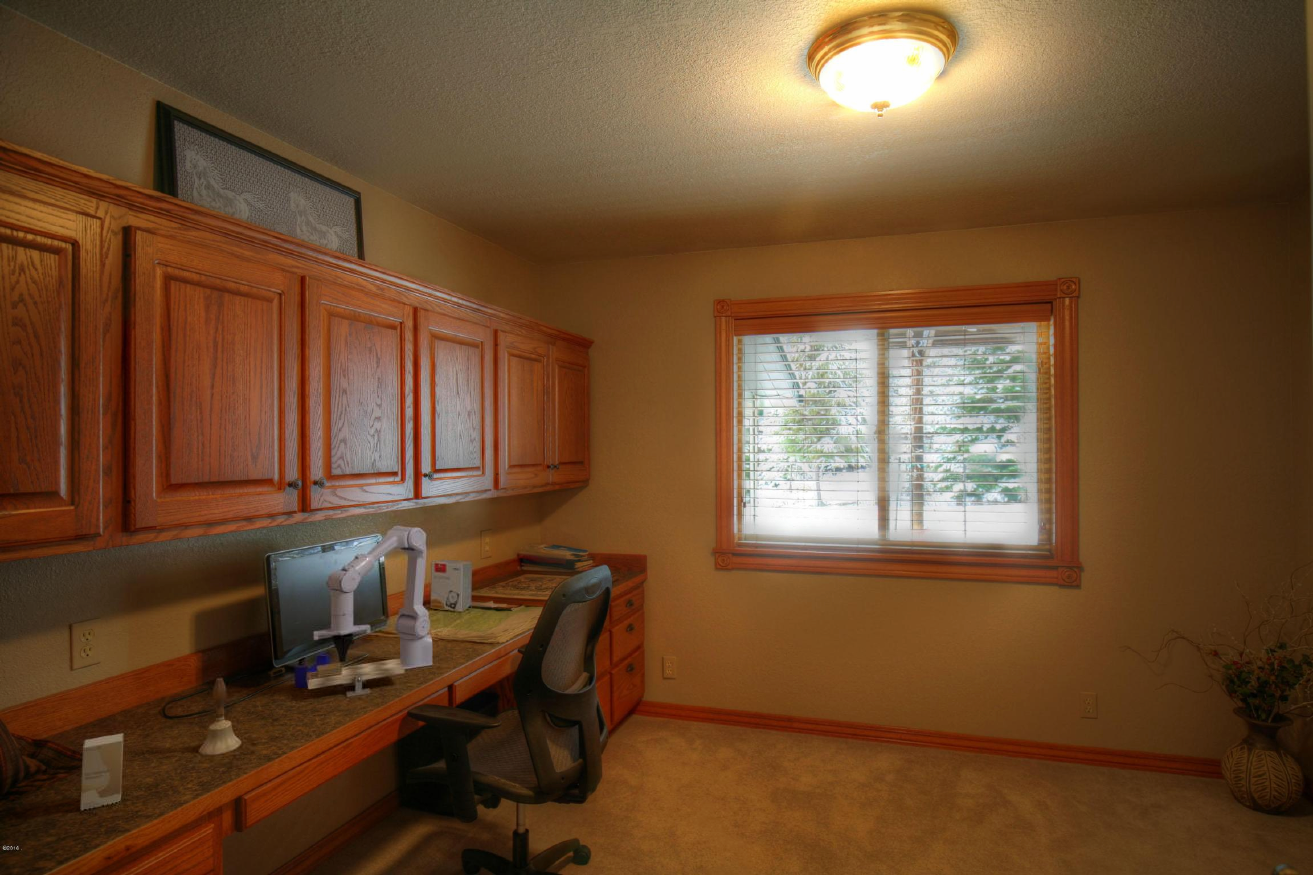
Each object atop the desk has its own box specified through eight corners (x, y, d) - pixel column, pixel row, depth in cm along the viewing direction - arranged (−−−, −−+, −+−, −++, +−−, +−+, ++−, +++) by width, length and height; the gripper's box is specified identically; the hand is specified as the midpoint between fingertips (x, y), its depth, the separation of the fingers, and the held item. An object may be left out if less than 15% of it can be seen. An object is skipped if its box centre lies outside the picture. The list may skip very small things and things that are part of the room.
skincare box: (79, 812, 132) (80, 748, 132) (81, 802, 136) (82, 739, 136) (122, 801, 136) (122, 739, 136) (123, 792, 140) (123, 731, 140)
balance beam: (400, 665, 207) (400, 656, 207) (404, 672, 201) (404, 663, 201) (306, 681, 195) (306, 671, 195) (308, 689, 188) (308, 678, 188)
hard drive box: (429, 610, 289) (429, 562, 289) (440, 605, 296) (441, 559, 296) (461, 613, 284) (461, 564, 284) (472, 608, 291) (472, 561, 291)
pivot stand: (365, 681, 204) (365, 664, 204) (370, 692, 195) (370, 675, 195) (342, 684, 201) (342, 667, 201) (347, 696, 192) (347, 678, 192)
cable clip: (315, 673, 211) (315, 654, 211) (329, 674, 210) (329, 654, 210) (290, 687, 199) (290, 666, 199) (304, 688, 198) (304, 667, 198)
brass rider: (340, 672, 198) (340, 662, 198) (341, 677, 194) (341, 666, 194) (316, 676, 195) (316, 666, 195) (318, 681, 191) (318, 670, 191)
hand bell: (199, 759, 154) (200, 687, 154) (197, 745, 161) (198, 677, 161) (242, 749, 159) (243, 680, 159) (239, 736, 166) (239, 670, 166)
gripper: (314, 619, 189) (314, 669, 189) (371, 613, 196) (371, 661, 196) (313, 614, 195) (312, 662, 195) (368, 607, 202) (368, 654, 202)
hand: (342, 661), depth 196 cm, fingers closed
